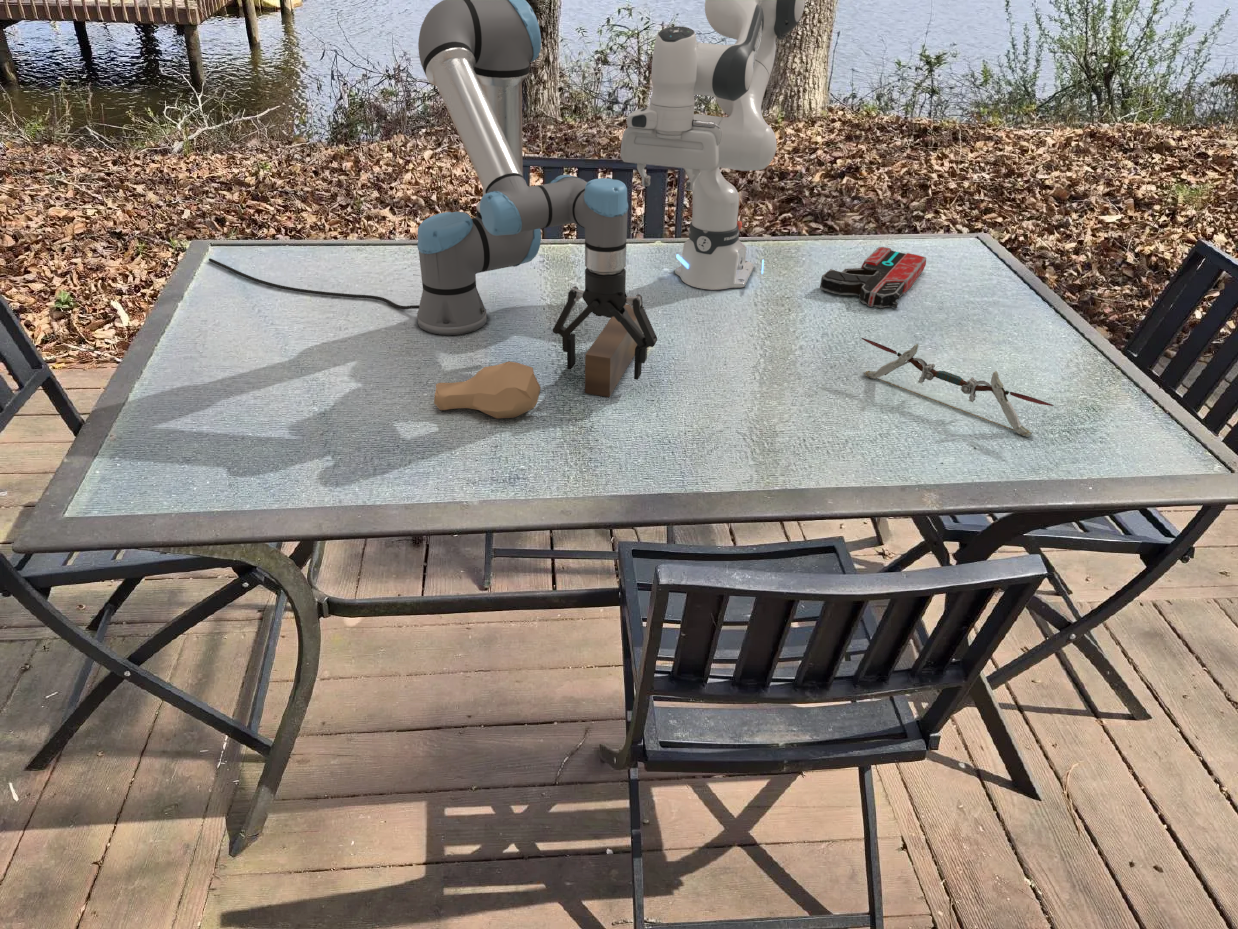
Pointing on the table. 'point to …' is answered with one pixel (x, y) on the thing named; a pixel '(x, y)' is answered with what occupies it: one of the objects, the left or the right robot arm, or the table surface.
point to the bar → (609, 357)
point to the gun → (877, 277)
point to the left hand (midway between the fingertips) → (604, 371)
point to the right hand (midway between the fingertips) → (667, 187)
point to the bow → (966, 388)
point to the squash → (493, 391)
